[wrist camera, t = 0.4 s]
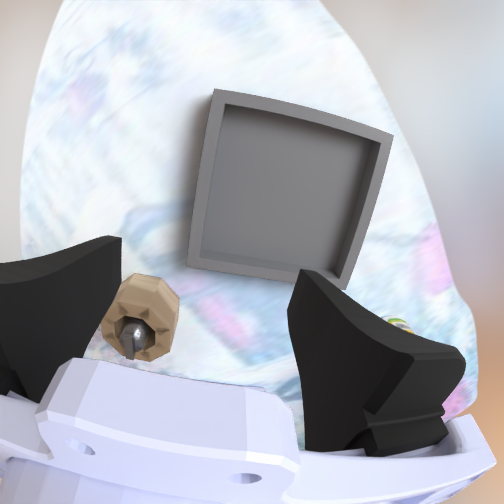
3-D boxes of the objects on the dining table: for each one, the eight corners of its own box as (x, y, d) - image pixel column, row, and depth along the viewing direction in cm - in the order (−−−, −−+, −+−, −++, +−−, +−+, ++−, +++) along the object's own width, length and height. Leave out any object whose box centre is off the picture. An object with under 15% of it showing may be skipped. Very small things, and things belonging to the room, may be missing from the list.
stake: (157, 315, 24) (141, 361, 19) (137, 311, 24) (118, 356, 18) (158, 294, 23) (140, 339, 18) (137, 290, 23) (115, 334, 18)
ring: (177, 333, 25) (169, 365, 21) (119, 321, 24) (105, 351, 20) (181, 281, 22) (171, 311, 19) (116, 269, 22) (97, 296, 18)
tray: (337, 276, 23) (345, 290, 21) (190, 253, 21) (186, 266, 20) (380, 133, 18) (393, 135, 16) (216, 92, 17) (214, 88, 15)
